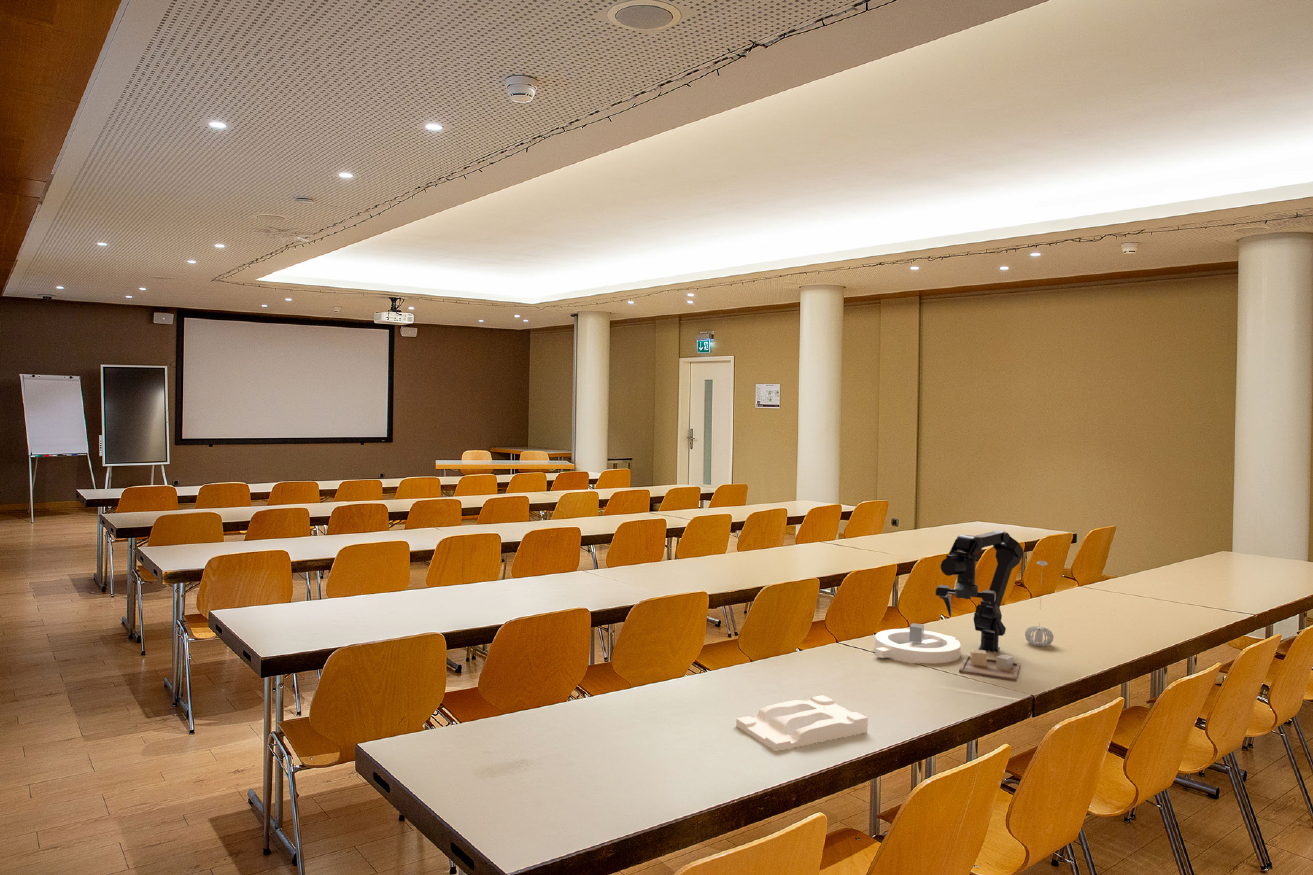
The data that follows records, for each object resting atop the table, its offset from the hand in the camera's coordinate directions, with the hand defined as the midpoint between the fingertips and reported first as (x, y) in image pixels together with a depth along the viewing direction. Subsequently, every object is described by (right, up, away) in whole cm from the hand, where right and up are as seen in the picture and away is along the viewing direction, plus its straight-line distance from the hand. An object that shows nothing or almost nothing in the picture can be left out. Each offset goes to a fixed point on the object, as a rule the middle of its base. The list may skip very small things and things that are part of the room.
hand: (964, 618), depth 283 cm
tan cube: (+1, -13, -9) cm, 16 cm away
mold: (-67, -15, -66) cm, 95 cm away
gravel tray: (+3, -14, -14) cm, 20 cm away
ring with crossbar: (-15, -13, +5) cm, 20 cm away
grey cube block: (-15, -8, +5) cm, 18 cm away
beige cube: (+8, -13, -12) cm, 20 cm away
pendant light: (+33, -13, +17) cm, 39 cm away
